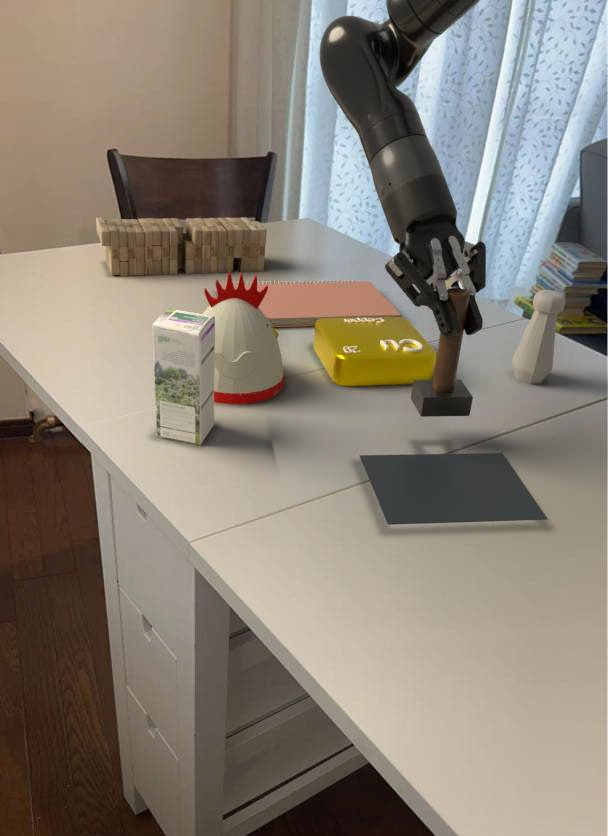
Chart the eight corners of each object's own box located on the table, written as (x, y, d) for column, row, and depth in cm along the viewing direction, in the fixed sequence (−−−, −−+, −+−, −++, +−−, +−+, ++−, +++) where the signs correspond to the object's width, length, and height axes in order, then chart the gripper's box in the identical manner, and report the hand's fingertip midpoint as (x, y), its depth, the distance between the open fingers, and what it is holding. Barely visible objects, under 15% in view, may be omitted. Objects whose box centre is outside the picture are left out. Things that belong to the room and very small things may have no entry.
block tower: (252, 262, 154) (97, 262, 144) (255, 217, 149) (95, 213, 139) (263, 276, 148) (103, 277, 138) (267, 229, 143) (101, 226, 134)
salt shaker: (500, 376, 118) (522, 289, 111) (523, 367, 122) (545, 282, 114) (533, 391, 115) (558, 303, 107) (555, 381, 118) (580, 295, 111)
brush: (457, 398, 99) (477, 284, 91) (469, 416, 95) (491, 299, 87) (410, 398, 98) (426, 284, 90) (420, 416, 94) (438, 298, 86)
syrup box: (215, 425, 100) (217, 313, 91) (200, 448, 95) (200, 332, 86) (172, 417, 101) (169, 305, 92) (154, 439, 96) (150, 323, 87)
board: (500, 461, 98) (502, 452, 97) (545, 528, 87) (548, 519, 86) (358, 463, 95) (359, 455, 94) (386, 533, 84) (387, 524, 83)
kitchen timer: (284, 407, 105) (292, 295, 96) (179, 403, 104) (177, 289, 95) (280, 362, 116) (286, 258, 107) (184, 358, 115) (183, 252, 106)
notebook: (366, 288, 144) (368, 277, 143) (399, 324, 132) (401, 313, 130) (218, 291, 138) (218, 280, 136) (237, 329, 125) (237, 317, 124)
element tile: (401, 342, 126) (406, 312, 123) (436, 384, 114) (442, 353, 111) (309, 344, 122) (312, 314, 119) (336, 388, 111) (339, 356, 108)
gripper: (381, 175, 83) (437, 329, 83) (478, 167, 90) (531, 310, 89) (346, 214, 90) (398, 357, 89) (439, 205, 97) (488, 338, 96)
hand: (464, 333), depth 89 cm, fingers closed on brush, 2 cm apart
